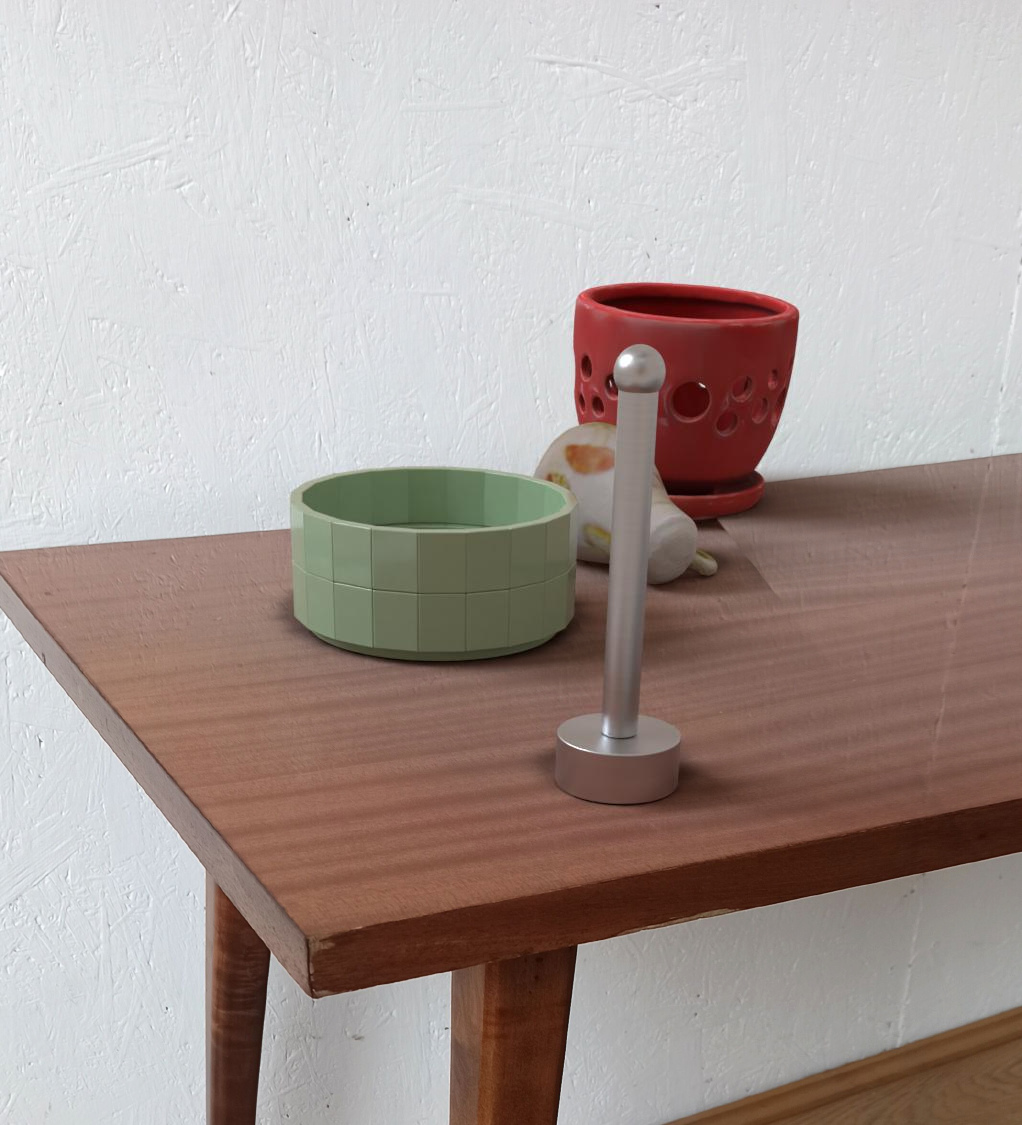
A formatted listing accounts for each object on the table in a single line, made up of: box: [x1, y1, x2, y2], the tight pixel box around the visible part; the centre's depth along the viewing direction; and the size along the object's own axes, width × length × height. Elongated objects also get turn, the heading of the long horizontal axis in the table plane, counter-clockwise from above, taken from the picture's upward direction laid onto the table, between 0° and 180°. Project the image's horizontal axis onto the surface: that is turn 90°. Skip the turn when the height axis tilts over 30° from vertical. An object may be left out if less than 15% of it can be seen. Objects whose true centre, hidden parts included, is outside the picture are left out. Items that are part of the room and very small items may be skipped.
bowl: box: [289, 465, 579, 662], centre depth 85 cm, size 14×14×6 cm
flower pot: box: [572, 281, 800, 523], centre depth 105 cm, size 13×13×12 cm
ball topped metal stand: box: [554, 344, 682, 805], centre depth 65 cm, size 5×5×16 cm
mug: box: [532, 422, 718, 585], centre depth 95 cm, size 8×10×10 cm
